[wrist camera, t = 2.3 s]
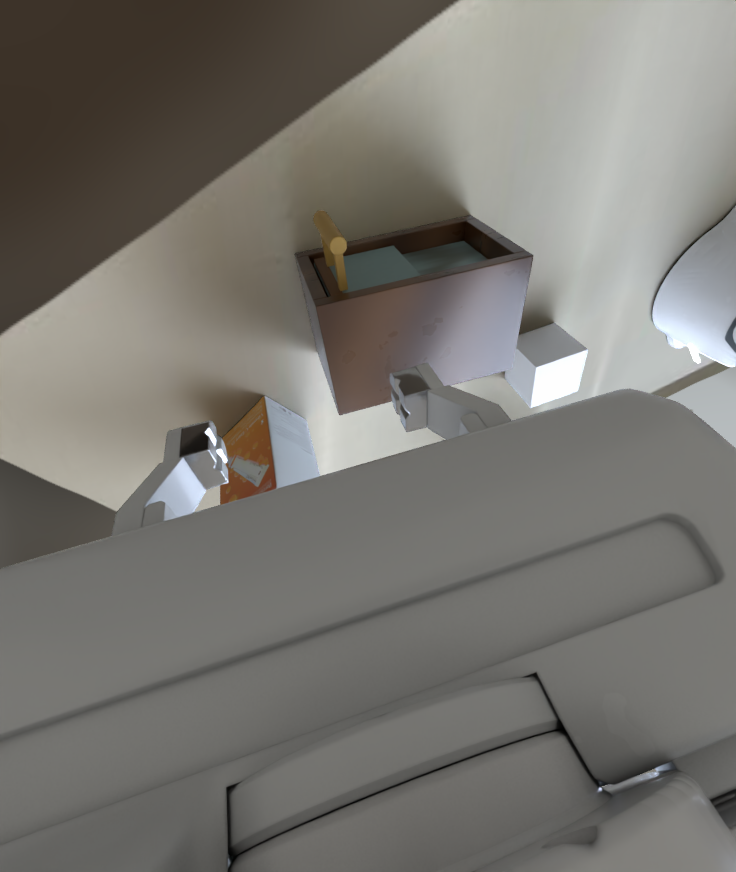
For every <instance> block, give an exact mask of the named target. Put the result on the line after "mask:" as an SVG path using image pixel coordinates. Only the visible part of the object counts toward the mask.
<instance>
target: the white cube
mask: <svg viewBox="0 0 736 872" xmlns="http://www.w3.org/2000/svg"><path fill="white" fill-rule="evenodd" d="M587 352H588V349H587V348H585V347H584V346H583V345H582V344H580V343H579V342H578V341H577V340H575V339H574V338H573V337H572V336H570V335H569V334H568V333H567V332H565V331H564V330H563V329H562V328H560V327H559V326H558V325H557V324H556V323H553V324H550V325H547V326H544V327H541V328H538V329H535V330H532V331H530V332H527V333H524V334H521V335H518V340H517V346H516V351H515V356H514V362H513V367H512V369H510V370H506V371H505V380H506V381H507V382H508V383H509V384H510V385H511V386H512V388H513V389H514V390H515V391H516V392H517V393H518V394H519V395H520V397H521V398H522V399H523V400H524V401H525V402H526V403H527V405H528V406H529V407H530V408H532V407H535V406H538V405H540V404H543V403H546V402H549V401H552V400H555V399H557V398H560V397H563V396H566V395H569V394H571V393H574V392H577V391H578V388H579V384H580V380H581V376H582V372H583V368H584V364H585V360H586V356H587Z"/></svg>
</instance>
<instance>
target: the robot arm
mask: <svg viewBox="0 0 736 872" xmlns="http://www.w3.org/2000/svg"><path fill="white" fill-rule="evenodd" d="M652 316H653V322H654V325H655V326H656V328H657V329H659V330H660V331H662V332H663V333H665V334H666V335H667V340H668V344H669V345H670V346H672V347H674V348H676V349H679V348H682V347H684V346H687V347H689V349H690V352H691V355H692V358H693V360H694V361H695V362H697V363H700V358H699V355H698V352H699V353H701V354H703V355H705V356H707V357H709V358H711V359H713V360H715V361H717V362H719V363H721V364H723V365H726V366H729V367H734V366H736V206H735V207H734V208H733V210H732V211H731V212H730V213H729V214H728V215H727V216H726V217H725V219H723V220H722V221H721V222H720V223H719V224H718V225H716V226H715V227H714V228H713V229H711V230H710V231H709V232H707V233H706V234H705V235H704V236H702V237H701V238H700V239H699V240H698V241H697V242H695V243H694V244H693V245H692V246H691V247H690V248H689V249H688V250H687V251H686V252H685V254H684V255H683V256H682V257H681V258H680V259H679V260H678V262H677V263H676V264H675V265H674V267H673V268H672V269H671V271H670V272H669V274H668V275H667V277H666V278H665V280H664V282H663V283H662V285H661V287H660V289H659V291H658V294H657V296H656V299H655V302H654V306H653V313H652ZM390 383H391V385H392V387H393V388H392V390H391V398H392V402H393V406H394V408H395V411H396V413H397V414H399V415H400V417H401V423H402V424H403V426H404V428H405V430H406V432H410V431H414V430H418V429H422V428H426V427H427V428H428V429H430V430H431V431H433V432H435V433H436V434H438V435H440V436H441V437H443V438H444V439H446V440H443V441H440V442H437V443H433V444H430V445H426V446H423V447H419V448H416V449H412V450H409V451H405V452H402V453H398V454H395V455H392V456H388V457H385V458H381V459H378V460H374V461H371V462H367V463H364V464H360V465H357V466H353V467H350V468H347V469H343V470H340V471H336V472H333V473H329V474H326V475H322V476H319V477H315V478H312V479H308V480H305V481H302V482H298V483H295V484H291V485H288V486H284V487H281V488H277V489H274V490H270V491H267V492H263V493H260V494H256V495H253V496H250V497H246V498H243V499H239V500H236V501H232V502H229V503H225V504H222V505H218V506H215V507H211V508H208V509H204V510H201V511H198V512H194V511H195V509H196V508H197V506H198V504H199V502H200V501H201V499H202V497H203V495H204V494H205V492H206V490H207V489H210V488H213V487H217V486H220V485H223V484H226V483H228V468H227V467H226V465H225V464H226V462H227V461H228V456H227V451H226V447H225V444H224V442H223V440H222V438H221V436H218V435H216V427H215V425H214V423H213V422H212V421H211V420H210V421H205V422H201V423H197V424H193V425H189V426H185V427H181V428H177V429H173V430H169V431H168V432H167V436H166V444H165V452H164V460H163V463H160V464H159V465H158V466H157V467H156V468H155V469H154V470H153V471H152V472H151V474H150V475H149V476H148V477H147V478H146V479H145V480H144V482H143V483H142V484H141V485H140V486H139V487H138V488H137V489H136V491H135V492H134V493H133V494H132V495H131V496H130V497H129V499H128V500H127V501H126V502H125V503H124V504H123V505H122V507H121V508H120V509H119V510H118V511H117V512H116V516H115V521H114V526H113V530H112V535H111V537H108V538H104V539H101V540H97V541H94V542H90V543H87V544H83V545H80V546H76V547H73V548H69V549H66V550H62V551H59V552H56V553H52V554H49V555H45V556H42V557H38V558H35V559H32V560H28V561H24V562H21V563H17V564H14V565H10V566H7V567H4V568H0V872H736V448H735V447H733V446H732V445H731V444H730V443H729V442H728V441H726V440H725V439H724V438H723V437H722V436H721V435H720V434H718V433H717V432H716V431H715V430H714V429H713V428H711V427H710V426H709V425H708V424H707V423H705V422H704V421H703V420H702V419H701V418H699V417H698V416H697V415H696V414H694V413H693V412H692V411H691V410H689V409H688V408H686V407H685V406H683V405H682V404H680V403H678V402H676V401H673V400H670V399H667V398H664V397H660V396H657V395H653V394H650V393H646V392H643V391H638V390H634V389H621V390H616V391H613V392H609V393H606V394H602V395H599V396H595V397H592V398H589V399H585V400H582V401H578V402H575V403H571V404H568V405H565V406H561V407H558V408H554V409H551V410H547V411H544V412H540V413H537V414H533V415H530V416H527V417H523V418H520V419H516V420H513V421H511V419H510V418H509V417H508V416H507V415H506V413H505V412H504V411H503V410H502V408H501V407H500V406H499V405H498V404H495V403H493V402H490V401H487V400H485V399H482V398H480V397H477V396H475V395H472V394H469V393H467V392H464V391H462V390H459V389H456V388H454V387H451V386H449V385H447V386H444V385H443V383H442V382H441V381H440V379H439V378H438V376H437V375H436V373H435V372H434V371H433V369H432V368H431V366H430V365H429V364H428V363H424V364H420V365H417V366H414V367H411V368H407V369H404V370H400V371H396V372H393V373H390ZM654 768H655V769H656V771H657V772H651V773H647V774H643V775H640V774H642V773H644V772H647V771H650V770H652V769H654ZM638 775H639V776H638ZM605 785H607V786H605ZM602 786H605V787H602Z"/></svg>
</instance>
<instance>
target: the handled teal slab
mask: <svg viewBox="0 0 736 872" xmlns="http://www.w3.org/2000/svg"><path fill="white" fill-rule="evenodd" d="M313 221H314V224H315V226H316V227H317V229H318V231H319V232H320V234H321V239H322V245H323V250H324V256H325V258H324V257H322V258H317V259H314V267H315V270H316V272H317V274H318V276H319V278H320V280H321V282H322V285H323V287H324V289H325V291H326V293H327V295H328V297H330V296H335V295H339V294H343V293H348V292H352V291H356V290H360V289H365V288H369V287H373V286H378V285H382V284H386V283H390V282H395V281H399V280H403V279H408V278H412V277H416V276H420V274H419V273H418V272H417V271H416V269H415V268H414V267H413V266H412V265H411V264H410V263H409V262H408V261H407V260H406V259H405V258H404V256H403V255H402V254H401V253H400V252H399V251H398V250H397V249H396V248H395V247H394V246H389V247H384V248H380V249H375V250H371V251H366V252H362V253H357V254H353V255H348V256H344V257H343V253H344V252H345V251H346V249H347V242H346V240H345V238H344V237H343V236H342V234H341V233H340V231H339V230H338V228H337V227H336V225H335V224H334V223H333V221H332V220H331V218H330V217H329V215H328V214H327V213H326V212H325V211H322V210H320V211H317V212H316V213H315V214H314V217H313ZM333 258H334V259H333Z"/></svg>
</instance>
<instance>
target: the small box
mask: <svg viewBox="0 0 736 872" xmlns="http://www.w3.org/2000/svg"><path fill="white" fill-rule="evenodd" d="M222 440H223V442H224V444H225V447H226V451H227V456H228V461H227V462H226V464H225V465H226V467H227V468H228V483H226V484H223V485H220V505H222V504H225V503H229V502H232V501H236V500H239V499H243V498H246V497H250V496H253V495H256V494H260V493H263V492H267V491H270V490H274V489H277V488H281V487H284V486H288V485H291V484H295V483H298V482H302V481H305V480H308V479H312V478H315V477H319V476H320V474H319V469H318V465H317V461H316V457H315V453H314V448H313V444H312V440H311V436H310V432H309V428H308V424H307V420H306V419H304V418H302V417H301V416H299V415H297V414H296V413H294V412H292V411H290V410H289V409H287V408H285V407H284V406H282V405H280V404H279V403H277V402H275V401H273V400H272V399H270V398H268V397H267V396H263V397H262V398H261V399H260V400H259V401H258V403H257V404H256V405H255V406H254V407H253V408H252V409H251V410H250V411H249V412H248V413H247V414H246V415H245V416H244V417H243V418H242V419H241V420H240V421H239V422H238V423H237V424H236V425H235V426H234V427H233V428H232V429H231V430H230V431H229V432H228V433H227V434H226V435H225V436H224V437H223V438H222Z"/></svg>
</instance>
